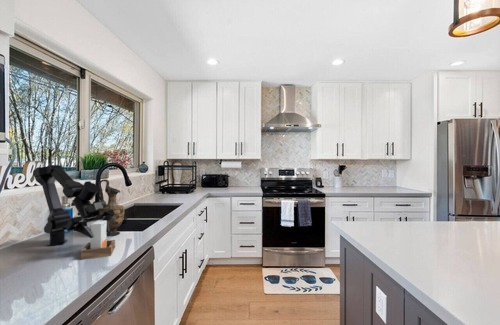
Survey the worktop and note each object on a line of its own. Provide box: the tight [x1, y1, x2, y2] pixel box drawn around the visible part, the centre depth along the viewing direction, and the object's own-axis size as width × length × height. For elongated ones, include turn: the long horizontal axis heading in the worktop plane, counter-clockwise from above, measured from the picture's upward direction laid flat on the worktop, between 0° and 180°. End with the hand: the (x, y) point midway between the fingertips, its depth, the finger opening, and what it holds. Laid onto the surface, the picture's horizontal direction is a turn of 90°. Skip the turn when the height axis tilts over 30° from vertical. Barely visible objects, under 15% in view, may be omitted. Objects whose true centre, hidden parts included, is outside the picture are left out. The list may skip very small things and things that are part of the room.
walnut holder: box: [80, 239, 116, 261], centre depth 104 cm, size 11×11×4 cm
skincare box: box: [90, 220, 108, 249], centre depth 104 cm, size 6×4×12 cm
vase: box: [97, 179, 125, 237], centre depth 131 cm, size 12×12×30 cm
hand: (100, 234), depth 104 cm, fingers closed on skincare box, 7 cm apart
